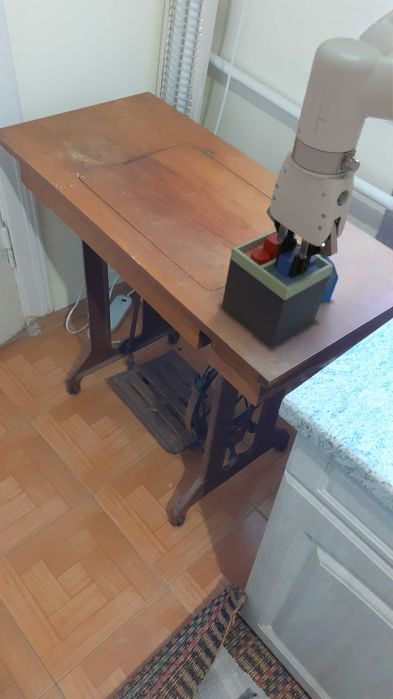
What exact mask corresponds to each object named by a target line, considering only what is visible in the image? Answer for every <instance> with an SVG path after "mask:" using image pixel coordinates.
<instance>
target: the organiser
mask: <svg viewBox="0 0 393 699" xmlns="http://www.w3.org/2000/svg"><path fill="white" fill-rule="evenodd" d="M275 233H277V231H276V228H273V229H272V230H269V231H268V232H264V233H263V234H261V235H258V236H256V237H253V238H252V239H249V240H248V241H245V242H243V243H241V244H238V245H236V246H234V247H232V248H231V253H230V259H232V260H233V261H234V262H236V263H237V264H238V265H240V266H241V267H242V268H243V269H245V270H246V271H247V272H249V273H250V274H251V275H252V276H254V277H255V278H256V279H258V280H259V281H260V282H262V283H263V284H264V285H265V286H267V287H268V288H269V289H271V290H272V291H273V292H274V293H276V294H277V295H278V296H280V297H281V298H282V299H284V300H286V299H288V298H290V297H292V296H294V295H295V294H297V293H299V292H301V291H303V290H304V289H306V288H308V287H310V286H312V285H313V284H315V283H317V282H319V281H321V280H323V279H324V278H326V277H328V276H330V274H331V271H332V268H333V265H332V264H330V263H329V262H328V261H327V260H325V259H324V258H322V257H321V256H319V255H318V254H317V255H316V257H317V260H316V263H315V265H314V266H313V267H309V268H308V270H307V271H306V272H305V273H304V274H302V275H299V276H297V277H295V278H293V279H292V278H290V277H287V278H285V277H284V276H283V275H281V274H280V273H279V272H277V271H276V267H275V262H276V258H277V257H276V258H274V259H270V261H269V262H268V263H266V264H263V265H258V264H257V263H256V262H254V261H253V260H252V259H251V258H250V257H251V252H252V251H253V250H254V249H257V248H261V249H263V245H264V241H265V238H266V237H268V236H270V235H273V234H275ZM300 245H301V242H300V241H299V240H298V239H297V245H296V247H297V246H298V247H300Z"/></svg>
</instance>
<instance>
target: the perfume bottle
mask: <svg viewBox="0 0 393 699" xmlns="http://www.w3.org/2000/svg"><path fill="white" fill-rule="evenodd" d="M318 255H319V256H321V257H322V258H324V259H325V260H327V261H328V262H329V263H330V264H332V265H333V268H332V271H331V274H330V277H329V280H328V283H327V285H326V288H325V291H324V294H323V297H322V299H321V302H320V304H324V303H329V302H331V299H332V298H333V297H332V296H333V293H334V292H335V289H336V286H337V282H338V280H339V274H338V273H337V269H336V266H335V262H333V260H331V258H330V256H324V255H321V254H318Z"/></svg>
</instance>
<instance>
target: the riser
mask: <svg viewBox="0 0 393 699" xmlns="http://www.w3.org/2000/svg"><path fill="white" fill-rule="evenodd" d="M329 277H330V276H328V277H326V278H324V279H323V280H321V281H319V282H317V283H315V284H313V285H312V286H310V287H308V288H306V289H304V290H303V291H301V292H299V293H297V294H295V295H294V296H292V297H290V298H288V299H286V300H284V299H282V298H281V297H280V296H278V295H277V294H276V293H274V292H273V291H272V290H271V289H269V288H268V287H267V286H265V285H264V284H263V283H262V282H260V281H259V280H258V279H256V278H255V277H254V276H252V275H251V274H250V273H249V272H247V271H246V270H245V269H243V268H242V267H241V266H240V265H238V264H237V263H236V262H234V261H233V260H232V259H231V258H229V264H228V269H227V276H226V280H225V287H224V292H223V298H222V304H221V307H222V309H224V310H225V311H227V312H228V313H229V314H230V315H231V316H233V317H234V318H235V319H236V320H237V321H238V322H240V323H241V324H242V325H243V326H244V327H245V328H247V329H248V330H249V331H250V332H251V333H253V334H254V335H255V337H257V338H259V340H260V341H262V342H263V343H264V344H266V345H267V346H268V347H269V349H270V348H271V349H272V348H274V347H275V346H277V345H278V344H281V343H282V342H283V341H285V340H287V339H288V338H290V337H292V336H293V335H295V334H296V333H298V332H300V331H301V330H303V329H305V328H306V327H308V326H310V325H311V324H313V323H314V322H315V319H316V316H317V313H318V311H319V308H320V305H321V303H320V302H321V299H322V297H323V294H324V291H325V288H326V285H327V283H328V280H329Z"/></svg>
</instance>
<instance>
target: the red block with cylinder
mask: <svg viewBox="0 0 393 699" xmlns="http://www.w3.org/2000/svg"><path fill="white" fill-rule="evenodd" d="M277 235H278V234H277V233H275V234H273V235H270V236H268V237H266V238H265V241H264V245H263V249H261V248H257V249H254V250H253V251H252V252H251V257H250V258H251V259H252V260H253V261H254V262H256V263H257V264H258V265H263V264H266V263H268V262H269V261H270V259H274V258H276V255H277V251H278V247H279V243H278V241H277Z"/></svg>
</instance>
